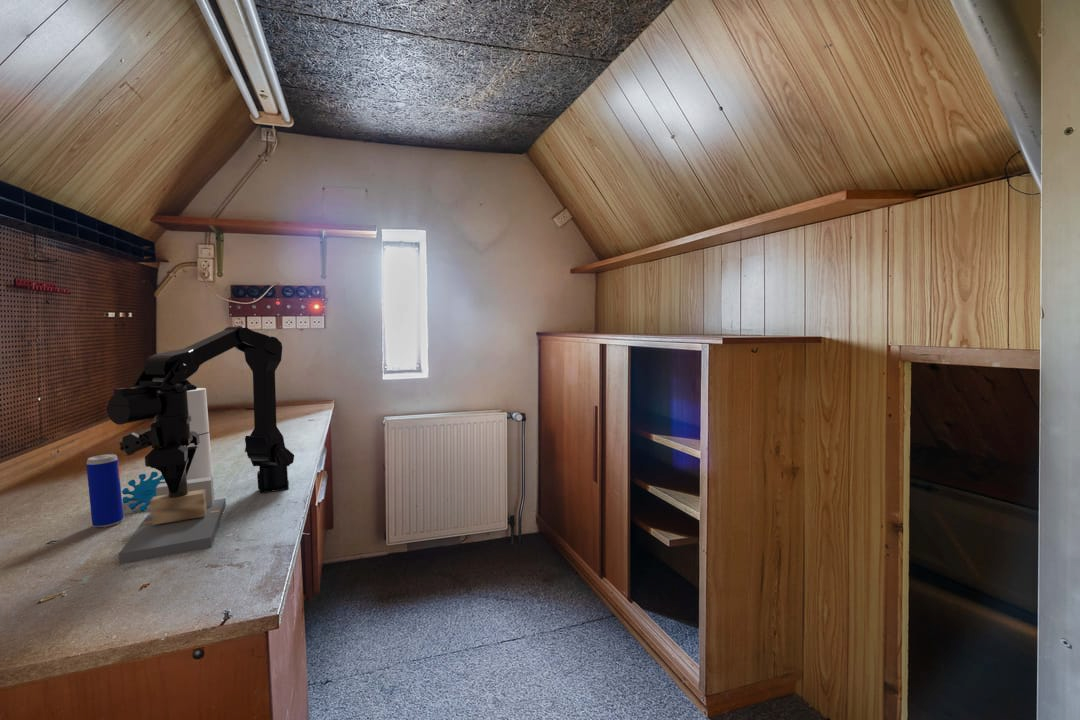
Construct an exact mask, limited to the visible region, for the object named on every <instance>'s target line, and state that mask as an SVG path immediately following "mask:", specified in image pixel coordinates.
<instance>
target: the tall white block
mask: <svg viewBox="0 0 1080 720" xmlns="http://www.w3.org/2000/svg"><path fill="white" fill-rule="evenodd" d="M207 398H208V397H207V388H205V387H197V389H196V390H190V391H187V400H188V412H189V416H191V421H190V422H189V424H190V432H191V431H194V432H196V433H197V434H199V440H200V443H199V444H198V445H194V443H191V444H190V447H193V446H198V448H197V450H196V453H195V455H194V458H193V461H192V463H191V466H190V468H189V471H188V474H187V477H186V478H187V480H191V479H199V478H206V477H209V476H211V475H212V474H213V466H212V465H213V463H212V462H213V461H212V449H211V438H210V437H211V436H210V435H211V434H210V425H209V412H208V399H207ZM212 476H213V475H212ZM212 476H211V477H212Z"/></svg>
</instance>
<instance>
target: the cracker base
mask: <svg viewBox="0 0 1080 720" xmlns="http://www.w3.org/2000/svg"><path fill="white" fill-rule="evenodd" d="M204 489H205V494H206V507H207V512H206V515H205V516H204V517H198V518H192V519H186V520H180V521H174V522H167V523H161V524H155V525H152V519H151V510H150V512H149V513H148V514H147V515H146V517H145V518H144V519H143V521H142V522H141V523H140V524H139V526H138V527H137V528H136V529H135V531H134V533H133V534H132V536H131V537H130V538H129V539H128V541H126V543H125V544H124V546H123V547H122V549H121V550H120V551H119V553H118V555H117V556H118V565H125V564H129V563H135V562H140V561H145V560H151V559H157V558H162V557H167V556H172V555H177V554H183V553H189V552H193V551H200V550H204V549H209V548H212V547H213V545H214V544H213V543H214V542H215V538H216V536H217V532H218V530H219V528H220V525H219V524H221V522H220V521H222V519H221V518H223V516H224V513H225V511H224V510H226V508H227V503H226V498H224V497H223V498H217V499H215V491H214V478H213V476H211V477H206V478H199V479H191V480H187V490H188V492H190V491H197V490H204ZM162 495H169V491H168V486H167V484H166V483H162V484H159V485H158V486H157V487H156V496H162ZM225 507H226V508H225ZM223 512H224V513H223ZM222 515H223V516H222ZM215 535H216V536H215Z"/></svg>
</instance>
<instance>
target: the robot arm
mask: <svg viewBox="0 0 1080 720" xmlns="http://www.w3.org/2000/svg"><path fill="white" fill-rule="evenodd" d="M234 348H235V349H236V350H238V351H240V352H242V353H243V354H244V358H245V359H244V360H245V362H246V364H247V365H248V367H249V369H250V370H251V371H252V389H253V390H252V391H253V394H252V395H253V420H254V421H253V422H254V424H253V425H254V428H253V430H252V431H251V433H250V435H246V436H244V442H245V448H244V453H246V456H247V458H248V459H249V460H250V462H251V464H252V466H253V467H259V470H258V471H257V474H256V477H257V478H256V479H257V489H258V490H259V493H260V494H263V493H270V492H275V491H276V492H278V491H282V490H288V489H289V487H290V486H289V485H290V484H289V483H290V481H289V477H288V474H289V473H288V467H290V465H292V464H293V463H294V461H295V454H294V453H292V451H290V450H289V449H288V448H287V447H286V445H285V440H284V439H285V438H284V436H283V434H282V433H281V430H279V428H278V424H277V403H276V402H277V401H276V370H277V368H278V367H279V365H280V363H281V361H282V355H283V344H282V342H281V341H280V340H279V338H277V337H276V336H270V335H267V334H264V333H262V332H258V331H254V330H252V329H249V328H248V327H246V326H244V325H243V326H236V325H235V326H234V325H233V326H227V327H225V328H224V329H223V330H222V331H219V332H217V333H215V334H213V335H210V336H209V337H206V338H203V339H201V340H200V341H197V342H195V343H194V344H191V345H188V346H186V347H184V348H180V349H174V350H168V351H163V352H160V353H155V354H153V355H151V356H149V357H147V358H146V360H145V364H144V367H143V368H142V370H141V372H140V373H139V375H138V376H137V378H136V380H135V381H134V383H133V384H132V386H131V387H117V388H114V389H113V395H112V396H111V397H110V399H109V400H108V402H107V405H106V412H107V415H108V417H109V419H110V421H111V422H112V423H114V424H115V425H119V426H120V425H125V424H131V423H136V422H140V421H146V420H151V419H154V421H153V422H152V423H151V424H150V428H148V429H145V430H143V431H139V432H138V433H135V432H134V431H132V432H131V433H128V434H125V435H123V436H122V440H121V441H119V442H118V444H119V446H120V447H119V449H120V451H123V452H124V454H125V455H126V456H127V457H129V456H132V455H134V454H135V453H137V452H139V451H141V450H144V449H147V448H150V447H151V451H149V452H148V454H146V455H145V456H144V464H145V467H147V468H150V469H156V470H157V471H159V472H160V473H161V475H163V477H164V479H165V480H164V482H166V484H167V486H168V489H169V491H170V493H171V494H173V493H177V492H178V489H179V486H180V483H181V480H182V477H183V475H184V472H185V469H186V477H187V474H188V471H189V468H190V466H191V463H192V461H193V458H194V455H195V453H196V450H197V448H198V446H193V447H190V444H191V443H194V445H198V444H199V443H200V440H199V434H197V433H196V432H194V431H191V432H190V424H189V422H190V421H191V416H189V412H188V400H187V391H190V390H196V389H197V388H198V387H197V386H196V385H194V384H193V383H191V382H190V381H189V380H188V379H189V378H190V377H192V376H193V375H195V374H196V373H197V371H199V368H200V367H201V366H202V365H203V364H204V363H206V362H208V361H210V360H213V359H214V358H216V357H218V356H220V355H221V354H224V353H226V352H228V351H229V350H232V349H234Z"/></svg>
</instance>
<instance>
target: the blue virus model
mask: <svg viewBox="0 0 1080 720" xmlns="http://www.w3.org/2000/svg"><path fill="white" fill-rule="evenodd" d="M158 476H159V473H158V472H157V471H151V473H150V476H149V477H148V478H147V475H146V473H141V474H139V475H138V478H139V480H140V481H139V483H138V484H137V483H136V480H135V479H131V480H129V481H128V482H127V484H128V486H130V487H133V488H134V489H133V490H130V489H129V488H128V487H125V488H124V489H123V490H121V494H122V495H130V496H132V497H129V496H123V497H122V504H127V503H129V504H128V508H129V509H130V510H132V511H134V510H135V509H136V507H138V506H139V505H140V506H139V507H138V510H139V511H141V512H145V511H144V510H146V511H147V508H148V506H149V504H150V501H151V499H152V498H153V497H155V496H156V487H157V486H158V485H159V484H162V483H166V482H165V479H164V477H163V475H162V474H161V475H160V476H159V477H158ZM156 477H158V478H156ZM146 478H147V479H146ZM154 478H155V479H154ZM145 479H146V480H145ZM162 480H164V481H162ZM132 501H136V502H132ZM143 503H144V504H143ZM141 504H142V505H141Z"/></svg>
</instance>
